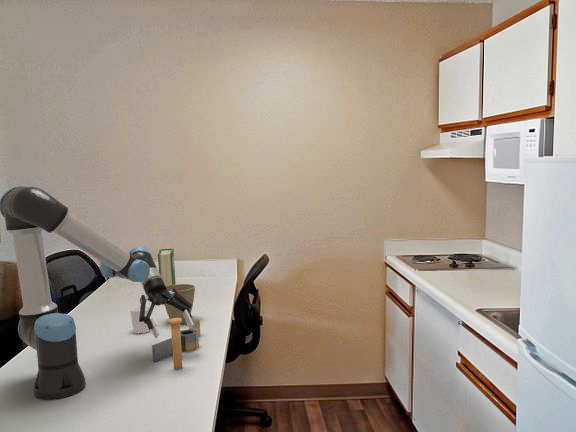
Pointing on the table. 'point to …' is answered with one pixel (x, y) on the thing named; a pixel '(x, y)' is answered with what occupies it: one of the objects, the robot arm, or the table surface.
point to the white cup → (138, 326)
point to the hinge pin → (176, 342)
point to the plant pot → (185, 292)
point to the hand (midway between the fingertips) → (175, 331)
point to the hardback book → (167, 266)
